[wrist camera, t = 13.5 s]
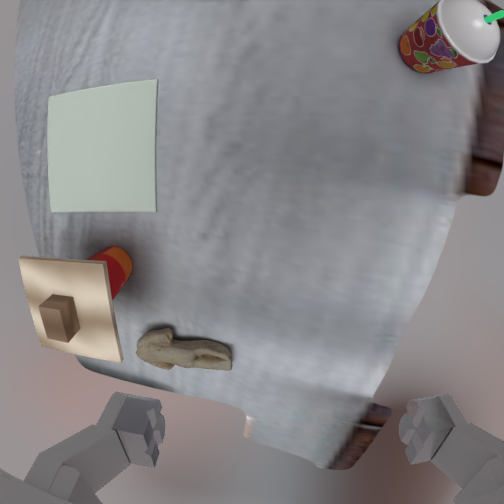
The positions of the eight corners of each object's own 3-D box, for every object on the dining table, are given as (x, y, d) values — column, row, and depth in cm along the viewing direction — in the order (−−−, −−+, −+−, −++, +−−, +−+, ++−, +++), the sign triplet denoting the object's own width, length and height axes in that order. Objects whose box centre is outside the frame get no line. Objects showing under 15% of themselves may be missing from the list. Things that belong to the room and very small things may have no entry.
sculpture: (235, 328, 48) (140, 317, 47) (235, 347, 44) (132, 336, 43) (231, 361, 51) (143, 352, 50) (230, 381, 47) (136, 370, 45)
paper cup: (96, 283, 46) (50, 329, 32) (92, 236, 43) (38, 272, 30) (141, 290, 46) (103, 342, 32) (139, 241, 43) (94, 281, 30)
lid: (22, 255, 29) (2, 267, 26) (106, 261, 29) (88, 276, 26) (44, 343, 33) (30, 359, 30) (123, 358, 33) (111, 379, 29)
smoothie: (448, 54, 32) (538, 24, 14) (426, 91, 35) (521, 71, 16) (405, 17, 31) (481, -38, 12) (380, 52, 34) (458, 1, 15)
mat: (50, 97, 36) (49, 96, 36) (158, 79, 36) (156, 78, 35) (53, 211, 42) (51, 212, 42) (156, 211, 42) (155, 211, 41)
